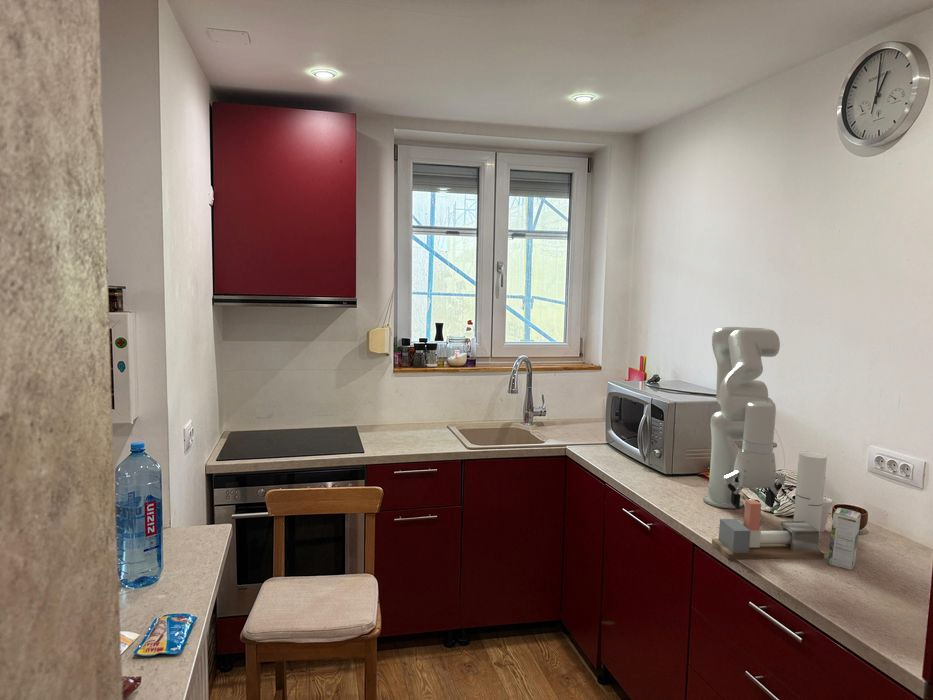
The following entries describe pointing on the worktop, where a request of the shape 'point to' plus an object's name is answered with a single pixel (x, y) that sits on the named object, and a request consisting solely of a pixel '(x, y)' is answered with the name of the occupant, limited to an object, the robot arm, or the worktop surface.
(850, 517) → the syrup box
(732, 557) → the roller board
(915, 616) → the worktop surface
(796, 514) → the cylindrical container
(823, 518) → the smoothie
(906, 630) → the worktop surface
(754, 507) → the slide bolt
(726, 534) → the socket
